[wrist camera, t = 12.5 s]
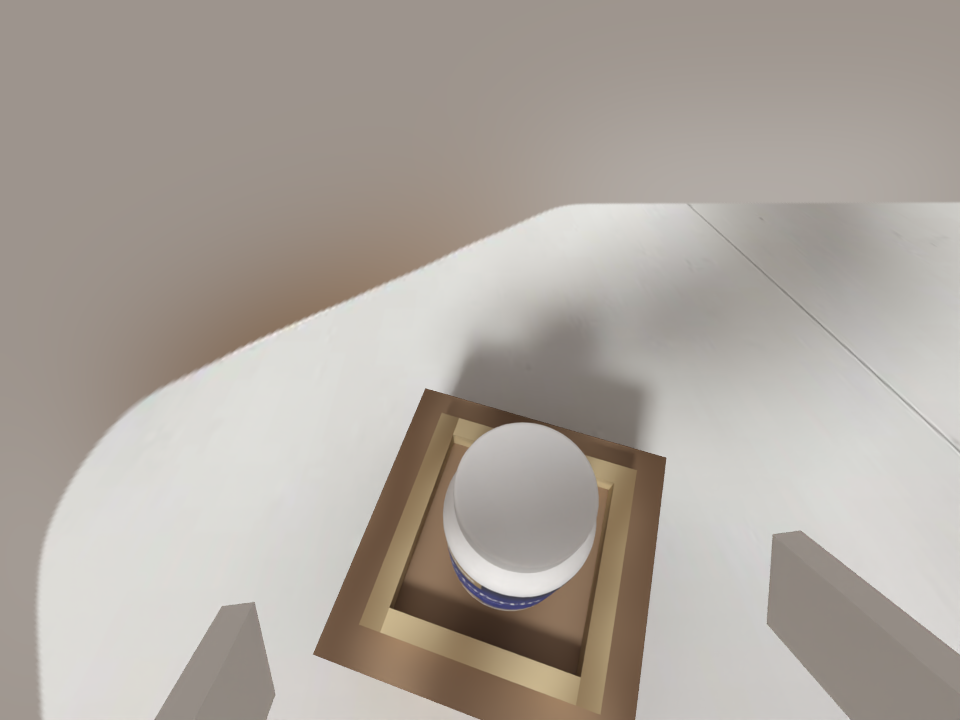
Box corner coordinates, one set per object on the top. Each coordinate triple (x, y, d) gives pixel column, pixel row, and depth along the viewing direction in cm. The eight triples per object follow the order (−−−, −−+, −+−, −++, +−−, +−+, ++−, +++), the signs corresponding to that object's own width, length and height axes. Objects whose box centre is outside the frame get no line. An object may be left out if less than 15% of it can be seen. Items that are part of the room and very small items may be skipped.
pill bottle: (429, 578, 23) (402, 531, 15) (479, 472, 26) (481, 382, 17) (542, 636, 22) (584, 622, 13) (582, 518, 25) (638, 445, 16)
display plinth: (630, 494, 32) (674, 449, 25) (592, 748, 25) (636, 783, 18) (434, 434, 34) (423, 378, 27) (348, 654, 27) (304, 654, 20)
